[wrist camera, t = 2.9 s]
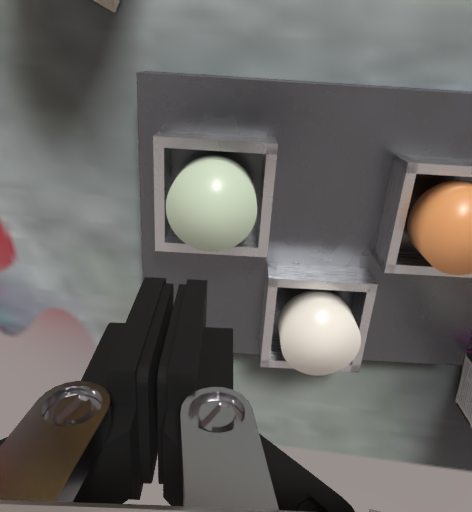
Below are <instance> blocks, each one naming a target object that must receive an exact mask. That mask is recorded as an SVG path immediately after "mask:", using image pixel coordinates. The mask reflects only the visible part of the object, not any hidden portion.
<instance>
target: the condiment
mask: <svg viewBox="0 0 472 512" xmlns="http://www.w3.org/2000/svg"><path fill="white" fill-rule="evenodd" d="M94 1H95V2H97V3H99V4H100V5H102V6H104V7H105V8H107V9H109V10H111V11H112V12H114V13H115V12H116V10H117V7H118V4H119V2H120V0H94Z"/></svg>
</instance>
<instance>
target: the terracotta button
mask: <svg viewBox="0 0 472 512" xmlns="http://www.w3.org/2000/svg"><path fill="white" fill-rule="evenodd" d="M407 231H408V236H409V239H410V241H411V243H412V244H413V246H414V247H415V248H416V249H417V250H418V251H419V252H420V253H421V254H422V256H423V257H424V258H425V259H426V260H427V261H428V262H429V263H430V264H431V265H432V266H433V267H434V268H435V269H437V270H439V271H441V272H443V273H446V274H450V275H467V274H471V273H472V183H471V182H467V181H462V180H453V181H447V182H443V183H440V184H438V185H436V186H434V187H432V188H430V189H429V190H427V191H426V192H425V193H424V194H422V195H421V196H420V197H419V198H418V200H417V201H416V202H415V204H414V205H413V207H412V209H411V211H410V214H409V217H408V222H407Z"/></svg>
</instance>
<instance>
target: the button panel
mask: <svg viewBox="0 0 472 512" xmlns="http://www.w3.org/2000/svg"><path fill="white" fill-rule="evenodd" d="M137 100H138V132H139V165H140V198H141V230H142V263H143V280H144V278H145V277H155V278H166V283H170V284H173V286H174V302H175V298H176V294H177V290H178V286H179V284H186V283H187V279H195V280H207V311H206V327H215V328H233V353H241V354H259V357H260V367H270V368H288V369H294V368H293V367H292V366H290V365H289V364H288V363H287V361H286V360H285V358H284V356H283V354H282V351H281V344H280V337H279V330H278V318H279V315H280V312H281V310H282V308H283V307H284V305H285V304H286V303H287V302H288V301H289V300H290V299H292V298H293V297H295V296H296V295H298V294H300V293H303V292H307V291H312V290H323V291H328V292H331V293H334V294H336V295H338V296H339V297H341V298H342V299H343V300H344V301H345V302H346V303H347V304H348V306H349V308H350V310H351V312H352V315H353V317H354V319H355V321H356V324H357V326H358V328H359V331H360V335H361V345H360V349H359V352H358V354H357V355H356V357H355V358H354V360H353V361H352V362H351V363H350V364H349V365H348V366H346V367H345V368H343V369H341V370H340V371H344V372H359V371H360V366H361V361H362V360H370V361H388V362H407V363H425V364H444V365H462V362H463V359H464V356H465V353H466V349H467V346H468V343H469V340H470V337H471V334H472V273H471V274H467V275H450V274H446V273H443V272H441V271H439V270H437V269H435V268H434V267H433V266H432V265H431V264H430V263H429V262H428V261H427V260H426V259H425V258H424V257H423V256H422V254H421V253H420V252H419V251H418V250H417V249H416V248H415V247H414V246H413V244H412V243H411V241H410V239H409V236H408V231H407V222H408V217H409V214H410V211H411V209H412V207H413V205H414V204H415V202H416V201H417V200H418V198H419V197H420V196H421V195H422V194H424V193H425V192H426V191H427V190H429V189H430V188H432V187H434V186H436V185H438V184H440V183H443V182H447V181H453V180H462V181H467V182H471V183H472V92H467V91H451V90H435V89H420V88H404V87H388V86H372V85H357V84H341V83H325V82H309V81H294V80H278V79H262V78H246V77H231V76H215V75H199V74H183V73H168V72H152V71H144V72H137ZM208 155H218V156H224V157H227V158H230V159H232V160H234V161H236V162H237V163H239V164H240V165H241V166H242V167H243V168H244V169H245V170H246V171H247V172H248V174H249V175H250V177H251V178H252V181H253V183H254V187H255V192H256V200H257V217H256V221H255V224H254V226H253V228H252V230H251V232H250V233H249V234H248V236H247V237H246V238H245V239H244V240H243V241H242V242H240V243H239V244H238V245H236V246H234V247H232V248H230V249H227V250H223V251H217V252H209V251H202V250H198V249H196V248H193V247H191V246H189V245H187V244H186V243H185V242H183V241H182V240H181V239H180V238H179V237H178V236H177V235H176V234H175V233H174V231H173V230H172V228H171V226H170V224H169V221H168V219H167V214H166V200H167V195H168V192H169V190H170V188H171V186H172V184H173V182H174V180H175V178H176V177H177V175H178V173H179V172H180V170H181V169H182V168H183V167H184V166H185V165H186V164H188V163H189V162H191V161H192V160H194V159H196V158H199V157H202V156H208Z"/></svg>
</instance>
